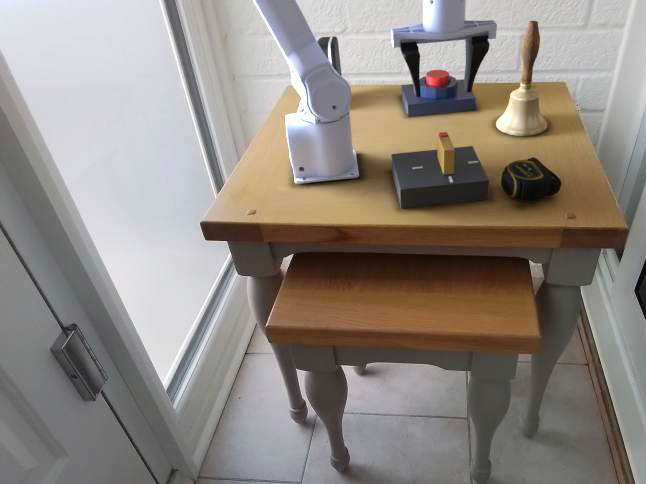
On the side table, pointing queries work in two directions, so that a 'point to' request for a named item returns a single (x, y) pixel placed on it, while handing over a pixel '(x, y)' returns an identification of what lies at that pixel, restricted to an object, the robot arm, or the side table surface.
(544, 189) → the tape measure
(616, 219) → the side table surface
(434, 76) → the bell button
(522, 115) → the hand bell
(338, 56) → the battery charger
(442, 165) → the lock knob
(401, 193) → the plate
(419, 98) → the button base
